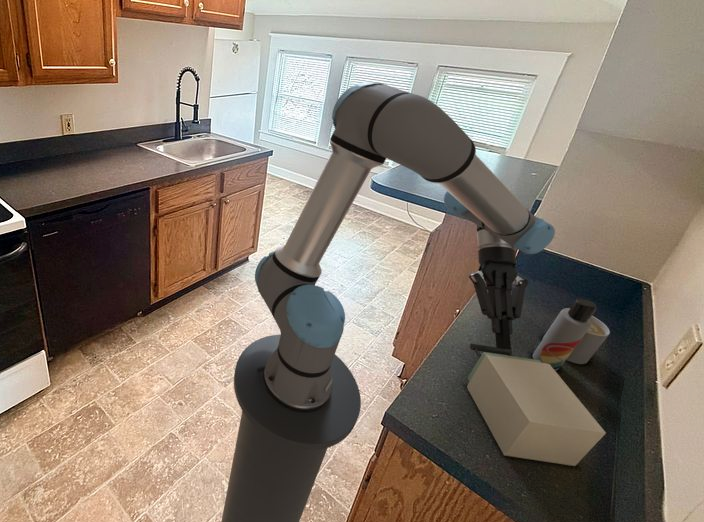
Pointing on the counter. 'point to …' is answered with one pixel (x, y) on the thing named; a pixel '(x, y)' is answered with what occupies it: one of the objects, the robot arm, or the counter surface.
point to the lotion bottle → (565, 334)
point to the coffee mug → (588, 341)
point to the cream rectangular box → (533, 411)
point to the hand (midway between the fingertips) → (503, 348)
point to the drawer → (492, 350)
